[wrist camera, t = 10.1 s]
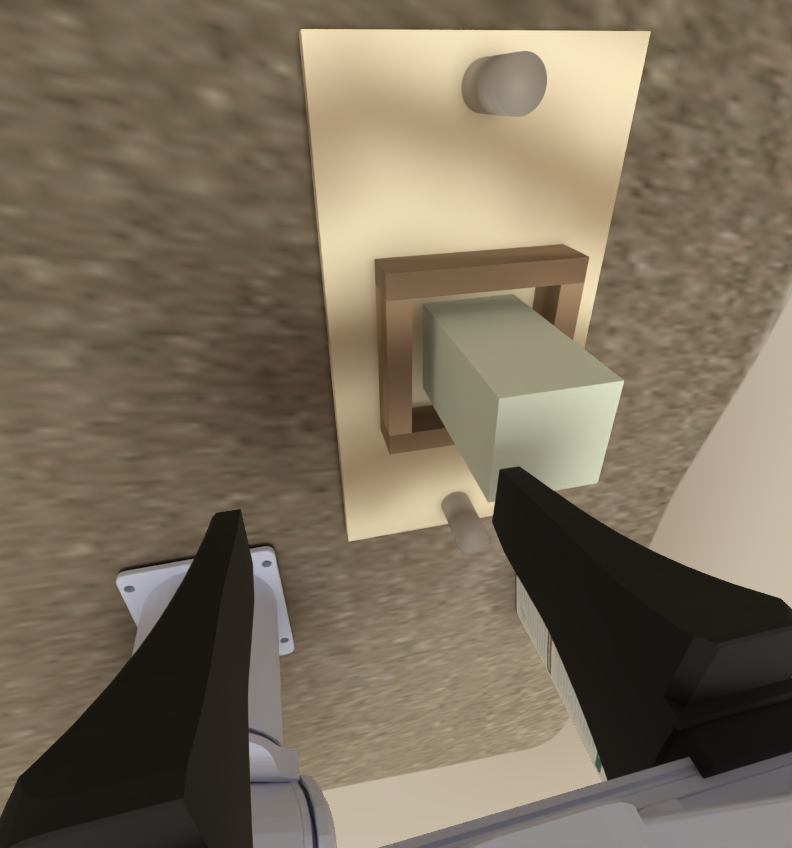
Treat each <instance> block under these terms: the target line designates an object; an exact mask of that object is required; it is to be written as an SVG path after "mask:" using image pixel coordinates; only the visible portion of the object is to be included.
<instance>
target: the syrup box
mask: <svg viewBox="0 0 792 848" xmlns="http://www.w3.org/2000/svg"><path fill="white" fill-rule="evenodd" d="M516 606H517V614H518V616H519V618H520V620H521V622H522V624H523V626H524V628H525V630H526V632H527V634H528V635H529V637H530V639H531V641H532V642H533V644H534V646H535V648H536V650H537V652H538V654H539V656H540V658H541V660H542V662H543V664H544V666H545V668H546V670H547V672H548V674H549V675H550V677H551V679H552V681H553V683H554V686H555V688H556V690H557V692H558V694H559V696H560V698H561V700H562V702H563V704H564V706H565V707H566V709H567V711H568V714H569V716H570V718H571V719H572V721H573V724H574V726H575V728H576V730H577V732H578V734H579V736H580V738H581V740H582V742H583V744H584V746H585V748H586V750H587V752H588V754H589V756H590V758H591V760H592V762H593V764H594V766H595V768H596V770H597V772H598V774H599V776H600V778H601V781H602V782H605V781H607V778H606V775H605V772H604V769H603V767H602V764H601V761H600V758H599V755H598V752H597V750H596V747H595V744H594V741H593V738H592V735H591V733H590V730H589V728H588V725H587V722H586V720H585V717H584V715H583V712H582V709H581V707H580V704H579V702H578V699H577V696H576V694H575V692H574V689H573V687H572V684H571V682H570V680H569V677H568V675H567V672H566V670H565V668H564V665H563V663H562V661H561V658H560V656H559V654H558V652H557V649H556V647H555V645H554V642H553V640H552V638H551V636H550V633H549V631H548V629H547V628H546V626H545V624H544V622H543V620H542V618H541V616H540V614H539V613H538V611H537V609H536V607H535V606H534V604H533V602H532V600H531V599H530V597H529V595H528V593H527V592H526V590H525V588H524V586H523V585H522V583H521V581H520V579H519V578H518V576H517V575H516Z"/></svg>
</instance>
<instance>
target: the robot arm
mask: <svg viewBox="0 0 792 848" xmlns="http://www.w3.org/2000/svg"><path fill="white" fill-rule="evenodd" d="M492 523H493V525H494V528H495V530H496V533H497V536H498V538H499V541H500V543H501V545H502V548H503V550H504V552H505V554H506V556H507V558H508V560H509V562H510V563H511V565H512V567H513V569H514V571H515V572H516V574H517V576H518V578H519V579H520V581H521V583H522V585H523V586H524V588H525V590H526V592H527V593H528V595H529V597H530V599H531V600H532V602H533V604H534V606H535V607H536V609H537V611H538V613H539V614H540V616H541V618H542V620H543V622H544V624H545V626H546V628H547V629H548V631H549V633H550V636H551V638H552V640H553V642H554V645H555V647H556V649H557V652H558V654H559V656H560V658H561V661H562V663H563V665H564V668H565V670H566V672H567V675H568V677H569V680H570V682H571V684H572V687H573V689H574V692H575V694H576V696H577V699H578V702H579V704H580V707H581V709H582V712H583V715H584V717H585V720H586V722H587V725H588V728H589V730H590V733H591V735H592V738H593V741H594V744H595V747H596V750H597V752H598V755H599V758H600V761H601V764H602V767H603V769H604V772H605V775H606V778H607V781H605V782H601V783H598V784H594V785H591V786H588V787H585V788H581V789H577V790H574V791H571V792H568V793H564V794H560V795H557V796H554V797H550V798H547V799H543V800H540V801H537V802H533V803H530V804H527V805H523V806H520V807H516V808H513V809H509V810H506V811H503V812H499V813H496V814H492V815H489V816H485V817H482V818H479V819H475V820H472V821H469V822H465V823H462V824H458V825H455V826H451V827H448V828H445V829H441V830H438V831H434V832H431V833H428V834H424V835H421V836H417V837H414V838H411V839H407V840H404V841H401V842H397V843H393V844H390V845H387V846H383V847H380V848H792V609H791V608H790V607H789V606H788V605H787V604H786V603H785V602H784V601H783V600H782V599H780V598H777V597H774V596H770V595H767V594H764V593H761V592H757V591H754V590H751V589H747V588H744V587H741V586H738V585H735V584H732V583H729V582H726V581H724V580H721V579H718V578H715V577H713V576H710V575H707V574H705V573H702V572H700V571H697V570H695V569H692V568H689V567H687V566H685V565H682V564H680V563H678V562H676V561H674V560H671V559H669V558H667V557H665V556H662V555H660V554H658V553H656V552H654V551H652V550H650V549H648V548H646V547H644V546H642V545H640V544H638V543H636V542H634V541H632V540H631V539H629V538H627V537H625V536H623V535H621V534H620V533H618V532H616V531H614V530H613V529H611V528H609V527H608V526H606V525H604V524H603V523H601V522H600V521H598V520H596V519H595V518H593V517H591V516H590V515H588V514H587V513H585V512H584V511H582V510H581V509H579V508H578V507H576V506H575V505H573V504H572V503H570V502H569V501H568V500H566V499H565V498H563V497H562V496H560V495H559V494H558V493H556V492H555V491H553V490H552V489H551V488H549V487H548V486H546V485H545V484H544V483H542V482H541V481H540V480H538V479H537V478H535V477H534V476H533V475H531V474H530V473H528V472H527V471H526V470H524V469H523V468H521V467H520V466H517V467H511V468H504V469H499V476H498V483H497V491H496V498H495V505H494V512H493V519H492ZM264 561H268V562H264ZM116 585H117V587H118V589H119V591H120V593H121V595H122V597H123V599H124V601H125V603H126V605H127V607H128V609H129V611H130V613H131V615H132V618H133V620H134V622H135V624H136V626H137V628H138V629H137V634H136V638H135V643H134V647H133V652H132V656H131V658H130V660H129V661H128V662H127V663H126V665H125V666H124V667H123V668H122V670H121V671H120V672H119V673H118V675H117V676H116V677H115V678H114V680H113V681H112V682H111V683H110V684H109V685H108V687H107V688H106V689H105V690H104V691H103V692H102V693H101V694H100V696H99V697H98V698H97V699H96V700H95V701H94V702H93V703H92V704H91V705H90V707H89V708H88V709H87V710H86V711H85V712H84V713H83V714H82V715H81V717H80V718H79V719H78V720H77V721H76V722H75V723H74V724H73V725H72V726H71V727H70V728H69V729H68V730H67V731H66V732H65V733H64V734H63V735H62V736H61V737H60V738H59V739H58V740H57V741H56V742H55V743H54V744H53V745H52V746H51V747H50V748H49V749H48V750H47V751H46V752H45V753H44V754H43V755H42V756H41V757H40V758H39V759H38V760H37V761H36V762H35V763H34V764H33V765H32V766H31V767H30V768H29V769H27V770H26V771H25V772H24V773H23V774H22V775H21V776H20V777H19V778H18V780H17V782H16V784H15V787H14V789H13V791H12V793H11V795H10V797H9V799H8V801H7V803H6V806H5V808H4V810H3V813H2V815H1V817H0V848H337V844H336V835H335V828H334V822H333V818H332V814H331V811H330V808H329V805H328V803H327V801H326V799H325V797H324V795H323V793H322V791H321V788H320V787H319V785H318V784H317V782H316V781H315V780H314V779H313V778H312V777H310V776H307V775H299V764H298V750H296V749H288V748H283V727H282V704H281V681H280V657H279V656H281V655H286V654H289V653H291V652H293V650H294V640H293V636H292V631H291V626H290V621H289V617H288V612H287V607H286V602H285V598H284V593H283V588H282V584H281V579H280V574H279V569H278V565H277V560H276V555H275V551H274V549H273V548H271V547H268V546H263V547H258V548H252V549H250V548H249V544H248V540H247V535H246V531H245V526H244V522H243V518H242V513H241V509H238V510H232V511H225V512H219V513H216V514H215V515H214V516H213V517H212V520H211V522H210V525H209V527H208V530H207V532H206V534H205V537H204V539H203V541H202V543H201V545H200V547H199V550H198V552H197V554H196V556H195V558H194V559H190V560H184V561H179V562H173V563H167V564H162V565H156V566H150V567H145V568H139V569H133V570H128V571H123V572H121V573H119V574H118V576H117V579H116Z"/></svg>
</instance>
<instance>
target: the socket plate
mask: <svg viewBox="0 0 792 848" xmlns="http://www.w3.org/2000/svg"><path fill="white" fill-rule="evenodd" d="M650 33H651V31H526V30H363V29H301V30H300V31H299V41H300V52H301V62H302V73H303V83H304V94H305V104H306V115H307V125H308V136H309V146H310V157H311V167H312V178H313V188H314V199H315V209H316V220H317V230H318V241H319V251H320V262H321V272H322V283H323V293H324V304H325V314H326V325H327V335H328V346H329V356H330V367H331V377H332V388H333V398H334V409H335V419H336V430H337V440H338V451H339V461H340V472H341V482H342V493H343V503H344V514H345V524H346V531H347V536H348V541H355V540H360V539H366V538H371V537H377V536H382V535H388V534H393V533H399V532H404V531H410V530H415V529H421V528H427V527H432V526H438V525H443V524H449V526H450V528H451V530H452V532H453V535H454V537H455V539H456V541H457V544H458V546H459V548H460V550H461V551H462V552H463V553H466V554H473V553H477V552H479V551H481V550H483V549H484V548H485V547H486V546H487V545H488V543H489V540H490V538H489V535H488V533H487V531H486V529H485V527H484V525H483V523H482V521H481V520H480V518H482V517H487V516H493V512H494V505H495V502H490V503H488V502H487V500H486V498H485V496H484V494H483V493H482V491H481V489H480V487H479V486H478V484H477V482H476V480H475V479H474V477H473V475H472V473H471V472H470V470H469V468H468V466H467V465H466V463H465V461H464V459H463V457H462V456H461V454H460V452H459V450H458V449H457V447H456V445H455V443H454V442H453V440H452V438H451V436H450V435H449V433H448V431H447V429H446V428H445V426H444V424H443V422H442V420H441V419H440V417H439V415H438V413H437V412H436V410H435V408H434V406H433V405H432V403H431V401H430V399H429V398H428V396H427V394H426V392H425V391H424V389H423V303H431V302H441V301H450V300H460V299H469V298H479V297H488V296H498V295H507V294H514V295H515V296H517V297H518V298H519V299H520V300H522V301H523V302H524V303H526V304H527V305H528V306H529V307H531V308H532V309H533V310H535V311H536V312H537V313H538V314H540V315H541V316H542V317H543V318H545V319H546V320H547V321H549V322H550V323H551V324H552V325H554V326H555V327H556V328H558V329H559V330H560V331H561V332H563V333H564V334H565V335H567V336H568V337H569V338H570V339H572V340H573V341H574V342H575V343H577V344H578V345H579V346H581V347H582V348H583V349H584V346H585V342H586V337H587V332H588V327H589V323H590V318H591V313H592V308H593V304H594V299H595V294H596V289H597V285H598V280H599V275H600V270H601V266H602V261H603V256H604V251H605V247H606V242H607V237H608V232H609V228H610V223H611V218H612V213H613V208H614V204H615V199H616V194H617V189H618V185H619V180H620V175H621V170H622V166H623V161H624V156H625V151H626V147H627V142H628V137H629V132H630V128H631V123H632V118H633V113H634V109H635V104H636V99H637V94H638V90H639V85H640V80H641V75H642V71H643V66H644V61H645V56H646V52H647V47H648V42H649V37H650Z"/></svg>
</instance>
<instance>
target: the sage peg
mask: <svg viewBox="0 0 792 848" xmlns="http://www.w3.org/2000/svg"><path fill="white" fill-rule="evenodd" d="M623 383H624V380H623V379H622V378H620V377H619V376H618V375H616V374H615V373H614V372H613V371H611V370H610V369H609V368H607V367H606V366H605V365H604V364H602V363H601V362H600V361H598V360H597V359H596V358H595V357H593V356H592V355H591V354H590V353H588V352H587V351H586V350H584V349H583V348H582V347H581V346H579V345H578V344H577V343H575V342H574V341H573V340H572V339H570V338H569V337H568V336H567V335H565V334H564V333H563V332H561V331H560V330H559V329H558V328H556V327H555V326H554V325H552V324H551V323H550V322H549V321H547V320H546V319H545V318H543V317H542V316H541V315H540V314H538V313H537V312H536V311H535V310H533V309H532V308H531V307H529V306H528V305H527V304H526V303H524V302H523V301H522V300H520V299H519V298H518V297H517V296H515V295H514V294H507V295H498V296H488V297H479V298H469V299H460V300H450V301H441V302H431V303H423V389H424V391H425V392H426V394H427V396H428V398H429V399H430V401H431V403H432V405H433V406H434V408H435V410H436V412H437V413H438V415H439V417H440V419H441V420H442V422H443V424H444V426H445V428H446V429H447V431H448V433H449V435H450V436H451V438H452V440H453V442H454V443H455V445H456V447H457V449H458V450H459V452H460V454H461V456H462V457H463V459H464V461H465V463H466V465H467V466H468V468H469V470H470V472H471V473H472V475H473V477H474V479H475V480H476V482H477V484H478V486H479V487H480V489H481V491H482V493H483V494H484V496H485V498H486V500H487V502H488V503H490V502H495V498H496V491H497V483H498V476H499V469H504V468H511V467H517V466H520V467H521V468H523V469H524V470H526V471H527V472H528V473H530V474H531V475H533V476H534V477H535V478H537V479H538V480H540V481H541V482H542V483H544V484H545V485H546V486H548V487H549V488H551V489H552V490H553V491H556V490H561V489H567V488H572V487H578V486H583V485H589V484H594V483H598V479H599V476H600V472H601V468H602V464H603V460H604V456H605V452H606V449H607V445H608V441H609V437H610V433H611V429H612V426H613V422H614V418H615V414H616V410H617V406H618V402H619V399H620V395H621V391H622V387H623Z"/></svg>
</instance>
